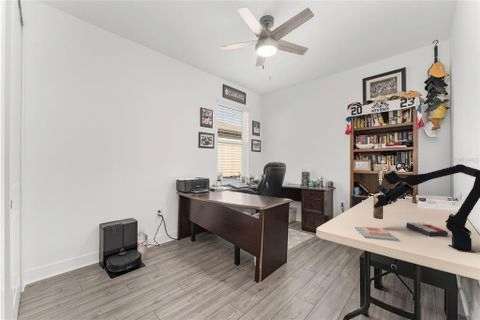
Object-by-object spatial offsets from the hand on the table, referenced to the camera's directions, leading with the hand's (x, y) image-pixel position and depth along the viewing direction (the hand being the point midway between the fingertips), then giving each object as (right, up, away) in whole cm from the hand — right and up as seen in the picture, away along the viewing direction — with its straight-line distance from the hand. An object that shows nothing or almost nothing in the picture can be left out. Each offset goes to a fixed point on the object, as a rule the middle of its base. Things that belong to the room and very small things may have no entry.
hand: (375, 206), depth 121 cm
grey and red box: (+27, -15, -4) cm, 31 cm away
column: (+1, -7, -1) cm, 7 cm away
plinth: (-8, -13, -10) cm, 18 cm away
